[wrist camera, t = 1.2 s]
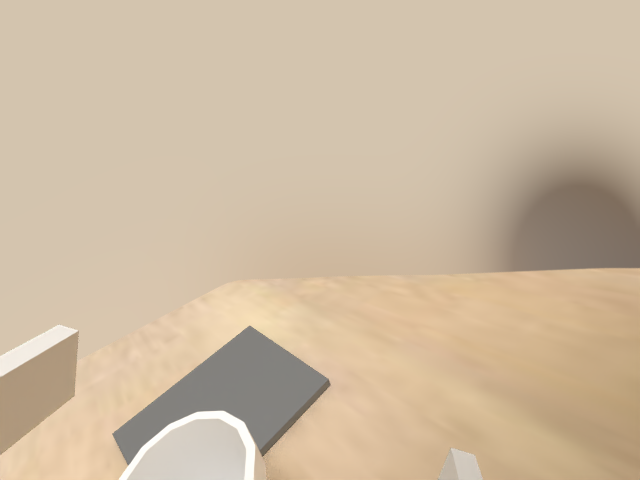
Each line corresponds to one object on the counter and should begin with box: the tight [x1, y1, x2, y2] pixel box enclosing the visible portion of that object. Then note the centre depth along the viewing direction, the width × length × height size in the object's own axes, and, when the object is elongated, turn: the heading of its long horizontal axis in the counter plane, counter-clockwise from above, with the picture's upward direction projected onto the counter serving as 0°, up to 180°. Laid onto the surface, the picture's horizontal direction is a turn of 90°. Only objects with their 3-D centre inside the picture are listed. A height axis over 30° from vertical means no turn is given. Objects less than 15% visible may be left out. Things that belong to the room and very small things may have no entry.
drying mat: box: [112, 326, 330, 466], centre depth 42 cm, size 20×16×1 cm
